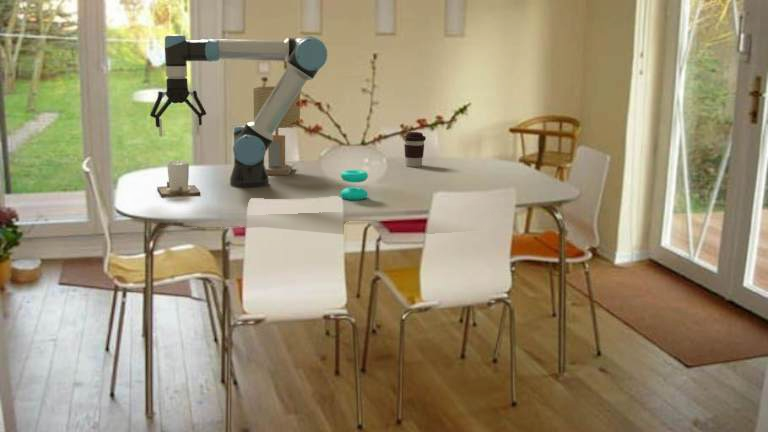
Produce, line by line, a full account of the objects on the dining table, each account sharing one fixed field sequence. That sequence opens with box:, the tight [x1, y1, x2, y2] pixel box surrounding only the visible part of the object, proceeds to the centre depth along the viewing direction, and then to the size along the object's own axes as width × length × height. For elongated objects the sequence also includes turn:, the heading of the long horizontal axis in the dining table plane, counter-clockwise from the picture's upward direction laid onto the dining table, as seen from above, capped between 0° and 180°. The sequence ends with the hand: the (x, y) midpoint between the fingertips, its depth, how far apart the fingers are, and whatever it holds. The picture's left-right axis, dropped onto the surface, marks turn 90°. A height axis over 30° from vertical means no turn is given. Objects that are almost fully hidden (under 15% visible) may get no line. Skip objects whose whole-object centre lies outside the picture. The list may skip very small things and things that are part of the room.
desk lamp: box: [252, 86, 301, 176], centre depth 381 cm, size 20×20×35 cm
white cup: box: [167, 160, 190, 191], centre depth 337 cm, size 8×8×10 cm
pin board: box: [156, 181, 201, 198], centre depth 338 cm, size 14×14×3 cm
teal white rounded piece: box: [340, 169, 369, 201], centre depth 336 cm, size 10×10×10 cm
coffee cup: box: [403, 131, 426, 168], centre depth 405 cm, size 10×10×15 cm
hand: (179, 135), depth 336 cm, fingers open, 13 cm apart
